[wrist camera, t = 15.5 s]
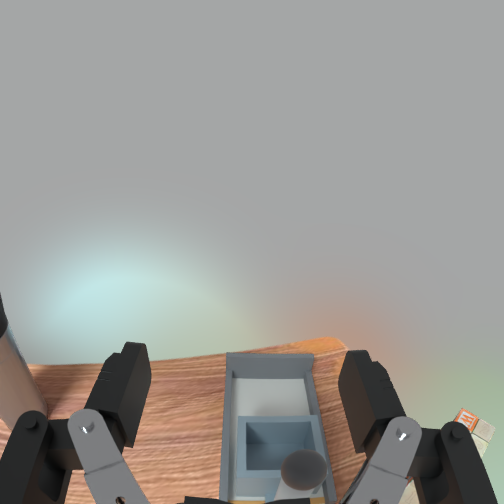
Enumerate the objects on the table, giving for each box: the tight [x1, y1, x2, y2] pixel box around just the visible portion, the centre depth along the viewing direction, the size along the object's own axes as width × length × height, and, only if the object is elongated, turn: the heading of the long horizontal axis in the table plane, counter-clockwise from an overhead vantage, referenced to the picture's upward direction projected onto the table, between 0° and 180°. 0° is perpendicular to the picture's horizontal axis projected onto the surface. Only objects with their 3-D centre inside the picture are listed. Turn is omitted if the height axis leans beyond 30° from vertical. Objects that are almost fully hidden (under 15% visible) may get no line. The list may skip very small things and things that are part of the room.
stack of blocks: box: [399, 408, 495, 504], centre depth 24 cm, size 21×6×12 cm, turn 128°
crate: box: [236, 415, 328, 503], centre depth 28 cm, size 10×15×18 cm
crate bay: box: [219, 353, 337, 504], centre depth 39 cm, size 14×25×6 cm, turn 1°
